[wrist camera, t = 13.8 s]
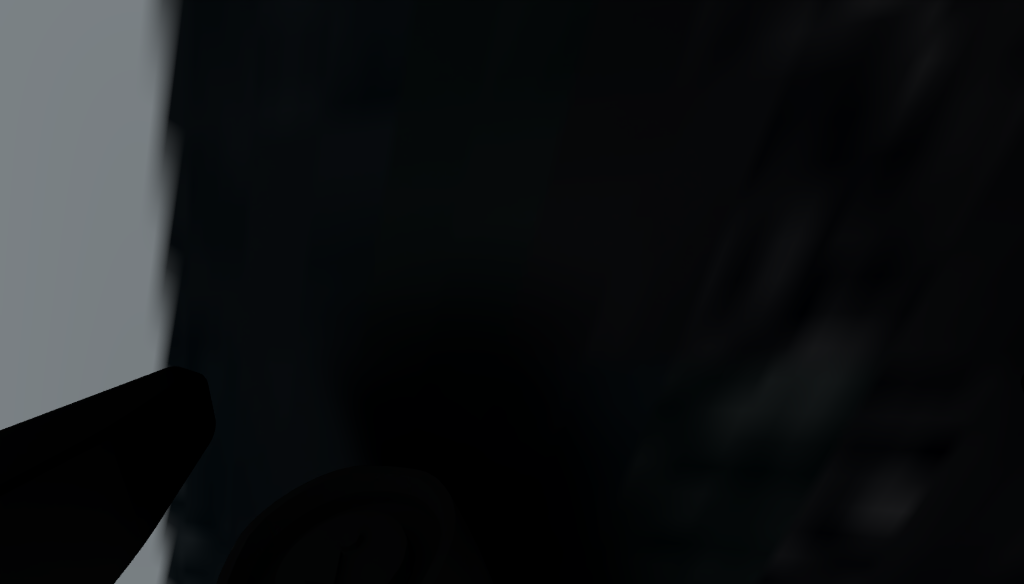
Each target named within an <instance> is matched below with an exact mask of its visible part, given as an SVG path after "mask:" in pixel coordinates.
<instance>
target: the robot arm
mask: <svg viewBox="0 0 1024 584" xmlns="http://www.w3.org/2000/svg"><path fill="white" fill-rule="evenodd" d="M1021 385H1022V388H1023V392H1024V375H1023V376H1022V380H1021ZM215 426H216V421H215V415H214V410H213V406H212V401H211V396H210V391H209V386H208V382H207V380H206V378H205V377H204V376H203V375H202V374H200V373H197V372H194V371H191V370H188V369H185V368H181V367H175V366H173V367H168V368H165V369H162V370H159V371H157V372H154V373H151V374H149V375H146V376H143V377H141V378H138V379H135V380H133V381H130V382H127V383H125V384H122V385H119V386H117V387H114V388H112V389H109V390H106V391H103V392H101V393H98V394H96V395H93V396H90V397H88V398H85V399H82V400H80V401H77V402H74V403H72V404H69V405H66V406H64V407H61V408H58V409H56V410H53V411H50V412H48V413H45V414H42V415H40V416H37V417H34V418H32V419H29V420H27V421H24V422H21V423H19V424H16V425H13V426H11V427H8V428H5V429H3V430H0V584H114V583H115V582H116V580H117V579H118V578H119V577H120V575H121V574H122V573H123V572H124V570H125V569H126V568H127V567H128V565H129V564H130V563H131V561H132V560H133V559H134V557H135V556H136V555H137V553H138V552H139V551H140V549H141V548H142V547H143V545H144V544H145V543H146V541H147V539H148V538H149V537H150V535H151V534H152V532H153V531H154V529H155V528H156V526H157V525H158V523H159V522H160V520H161V519H162V517H163V515H164V514H165V512H166V511H167V509H168V508H169V506H170V504H171V503H172V501H173V500H174V498H175V497H176V495H177V494H178V492H179V490H180V489H181V487H182V486H183V484H184V483H185V481H186V479H187V478H188V476H189V475H190V473H191V472H192V470H193V469H194V467H195V465H196V464H197V462H198V461H199V459H200V458H201V456H202V454H203V453H204V451H205V450H206V448H207V447H208V445H209V444H210V442H211V440H212V437H213V435H214V431H215Z"/></svg>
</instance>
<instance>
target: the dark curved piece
mask: <svg viewBox="0 0 1024 584" xmlns="http://www.w3.org/2000/svg"><path fill="white" fill-rule="evenodd" d="M217 584H494V583H493V581H492V578H491V576H490V574H489V571H488V569H487V566H486V564H485V562H484V559H483V557H482V554H481V552H480V550H479V547H478V545H477V543H476V542H475V540H474V538H473V536H472V534H471V532H470V530H469V528H468V526H467V524H466V522H465V520H464V518H463V517H462V515H461V512H460V511H459V509H458V507H457V505H456V504H455V502H454V500H453V499H452V497H451V495H450V494H449V492H448V490H447V489H446V487H445V486H444V485H443V484H442V483H441V482H440V481H439V480H438V479H437V478H436V477H434V476H433V475H431V474H429V473H428V472H425V471H421V470H417V469H411V468H404V467H395V466H354V467H349V468H345V469H340V470H336V471H333V472H331V473H328V474H325V475H323V476H320V477H317V478H315V479H313V480H311V481H309V482H307V483H305V484H303V485H301V486H300V487H298V488H296V489H294V490H292V491H291V492H289V493H288V494H286V495H285V496H283V497H282V498H280V499H279V500H277V501H276V502H274V503H273V504H272V505H271V506H269V507H268V508H267V509H266V510H264V511H263V512H262V513H261V514H260V515H259V516H257V517H256V518H255V519H254V520H253V521H252V522H251V523H250V524H249V525H248V526H247V528H246V529H245V530H244V531H243V532H242V534H241V535H240V537H239V538H238V540H237V541H236V543H235V545H234V546H233V548H232V550H231V552H230V554H229V556H228V558H227V560H226V562H225V564H224V566H223V568H222V571H221V573H220V575H219V578H218V581H217Z"/></svg>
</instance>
